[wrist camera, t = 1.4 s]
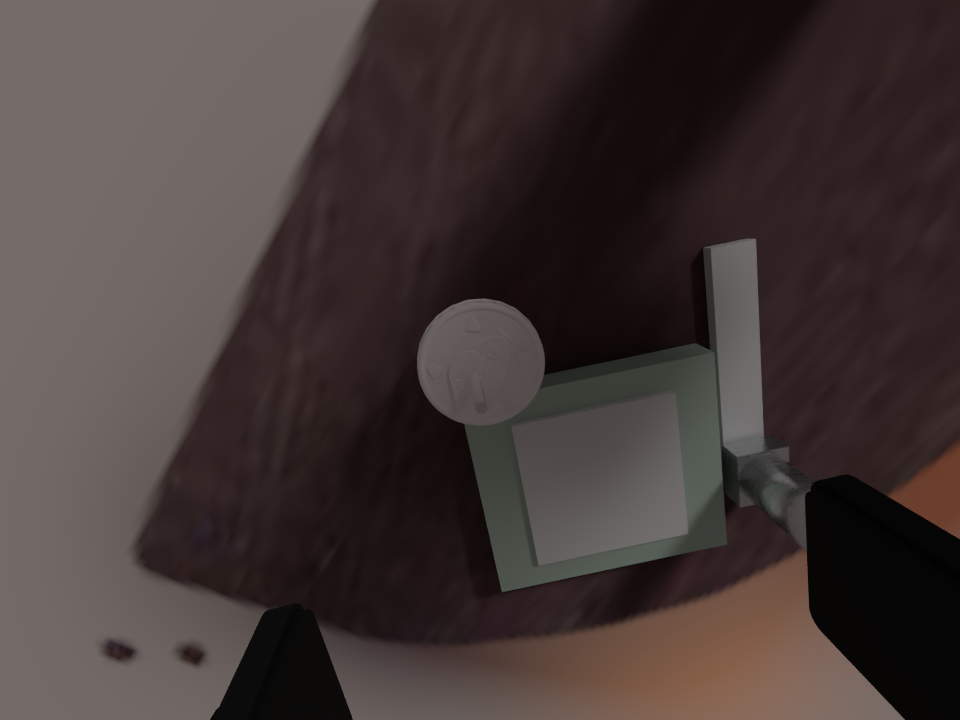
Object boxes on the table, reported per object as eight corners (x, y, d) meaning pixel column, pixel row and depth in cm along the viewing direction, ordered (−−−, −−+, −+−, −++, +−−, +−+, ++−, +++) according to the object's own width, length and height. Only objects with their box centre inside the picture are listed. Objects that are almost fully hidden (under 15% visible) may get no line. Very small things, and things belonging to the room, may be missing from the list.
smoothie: (406, 340, 33) (379, 420, 20) (457, 259, 32) (465, 286, 19) (485, 388, 34) (509, 494, 21) (537, 312, 33) (598, 372, 20)
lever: (718, 445, 35) (853, 554, 24) (772, 433, 35) (934, 537, 24) (722, 493, 36) (852, 620, 25) (774, 482, 37) (929, 604, 25)
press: (439, 302, 33) (438, 310, 30) (746, 238, 33) (775, 239, 30) (498, 569, 39) (502, 597, 36) (759, 513, 39) (784, 537, 36)
